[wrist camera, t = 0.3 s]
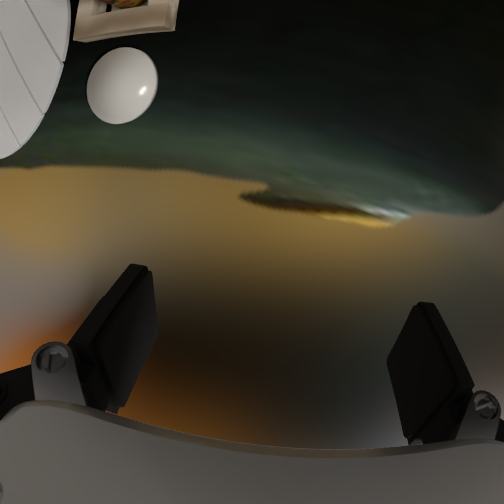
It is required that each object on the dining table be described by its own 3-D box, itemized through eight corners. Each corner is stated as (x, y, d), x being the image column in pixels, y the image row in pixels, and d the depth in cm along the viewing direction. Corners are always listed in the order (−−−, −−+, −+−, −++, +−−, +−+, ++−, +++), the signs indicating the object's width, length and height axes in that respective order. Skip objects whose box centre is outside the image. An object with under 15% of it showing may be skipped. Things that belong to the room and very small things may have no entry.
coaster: (93, 53, 32) (89, 52, 31) (162, 44, 31) (159, 43, 30) (89, 124, 37) (85, 125, 36) (155, 123, 36) (152, 123, 36)
